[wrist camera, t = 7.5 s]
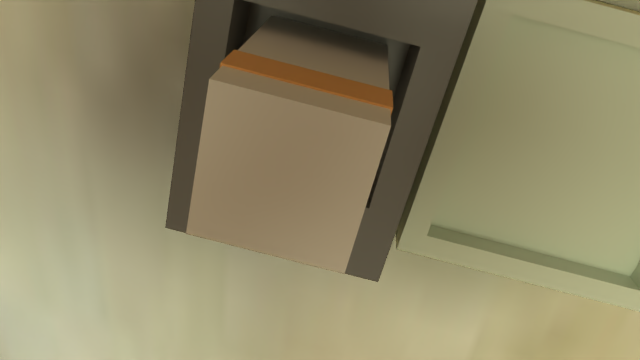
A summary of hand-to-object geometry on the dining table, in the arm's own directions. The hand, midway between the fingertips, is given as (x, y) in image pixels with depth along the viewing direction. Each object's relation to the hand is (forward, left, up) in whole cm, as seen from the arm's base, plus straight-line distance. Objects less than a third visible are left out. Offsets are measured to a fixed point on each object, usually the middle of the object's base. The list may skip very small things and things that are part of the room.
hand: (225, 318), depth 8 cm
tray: (-9, 0, -12) cm, 15 cm away
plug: (0, 0, -11) cm, 11 cm away
